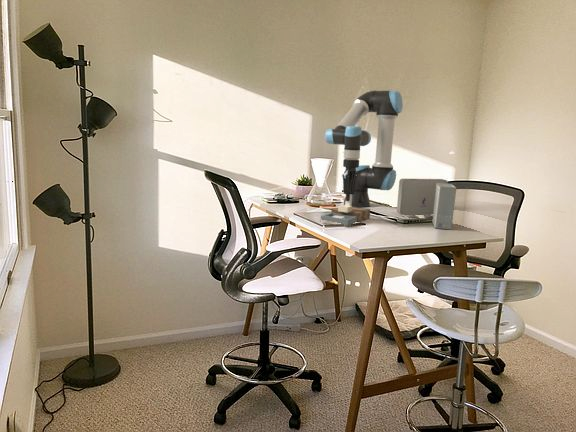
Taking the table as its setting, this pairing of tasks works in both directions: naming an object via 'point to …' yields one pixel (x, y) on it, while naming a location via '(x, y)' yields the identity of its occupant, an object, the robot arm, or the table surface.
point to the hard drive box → (444, 206)
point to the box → (340, 219)
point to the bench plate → (355, 213)
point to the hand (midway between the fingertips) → (348, 207)
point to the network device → (417, 196)
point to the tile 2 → (344, 208)
